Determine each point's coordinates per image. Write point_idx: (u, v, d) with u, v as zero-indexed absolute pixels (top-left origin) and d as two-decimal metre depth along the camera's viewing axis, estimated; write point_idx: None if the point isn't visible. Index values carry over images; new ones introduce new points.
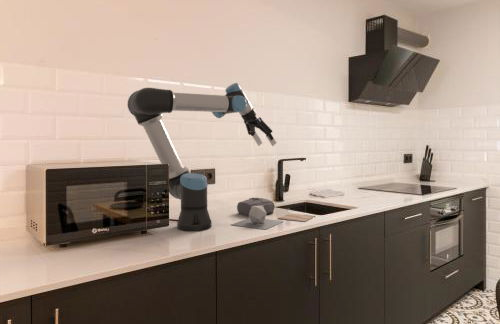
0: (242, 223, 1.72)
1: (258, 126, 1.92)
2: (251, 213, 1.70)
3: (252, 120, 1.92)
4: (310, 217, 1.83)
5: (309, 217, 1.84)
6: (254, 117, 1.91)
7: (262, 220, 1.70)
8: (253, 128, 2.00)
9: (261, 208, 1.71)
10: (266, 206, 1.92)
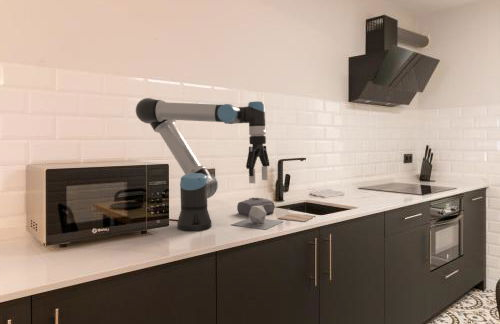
0: (242, 223, 1.72)
1: None
2: (251, 213, 1.70)
3: None
4: (310, 217, 1.83)
5: (309, 217, 1.84)
6: (254, 144, 1.69)
7: (262, 220, 1.70)
8: (262, 158, 1.76)
9: (261, 208, 1.71)
10: (266, 206, 1.92)
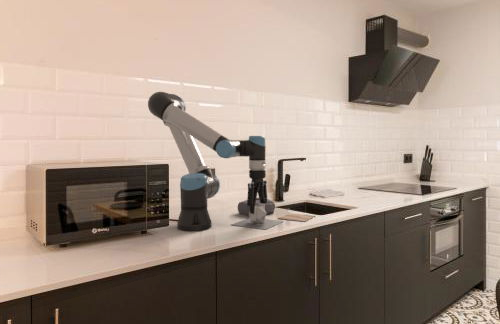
0: (242, 223, 1.72)
1: None
2: None
3: None
4: (310, 217, 1.83)
5: (309, 217, 1.84)
6: (253, 178, 1.69)
7: (262, 220, 1.70)
8: (260, 193, 1.74)
9: (261, 208, 1.71)
10: (267, 206, 1.92)
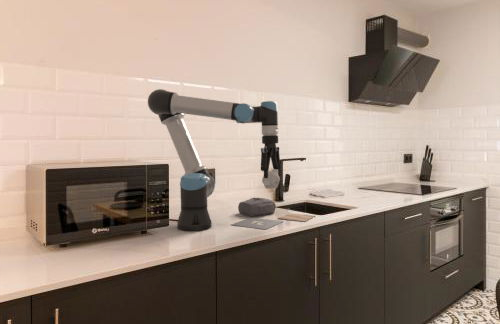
0: (242, 223, 1.72)
1: None
2: None
3: None
4: (310, 217, 1.83)
5: (309, 217, 1.84)
6: (266, 143, 1.71)
7: (276, 185, 1.73)
8: (273, 159, 1.77)
9: (274, 173, 1.73)
10: (267, 206, 1.92)
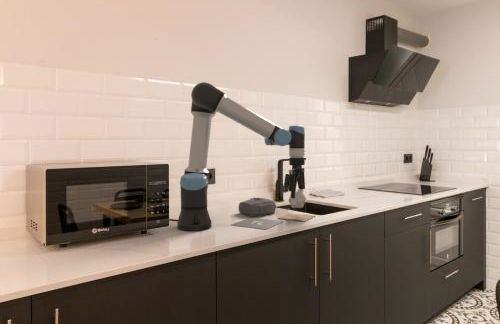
0: (242, 223, 1.72)
1: None
2: None
3: None
4: (310, 217, 1.83)
5: (309, 217, 1.84)
6: (293, 165, 1.80)
7: (302, 204, 1.82)
8: (299, 179, 1.86)
9: (301, 193, 1.82)
10: (268, 206, 1.92)
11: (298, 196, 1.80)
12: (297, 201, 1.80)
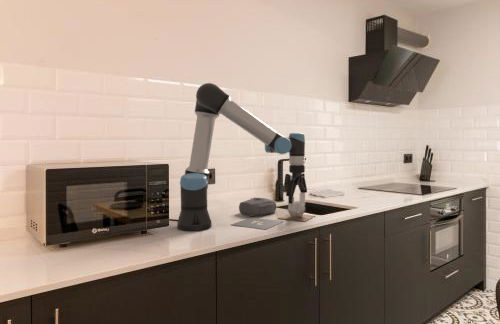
0: (242, 223, 1.72)
1: None
2: None
3: None
4: (310, 217, 1.83)
5: (309, 217, 1.84)
6: (293, 173, 1.80)
7: (301, 214, 1.82)
8: (300, 185, 1.87)
9: (300, 203, 1.83)
10: (268, 206, 1.92)
11: (297, 206, 1.81)
12: (296, 211, 1.80)
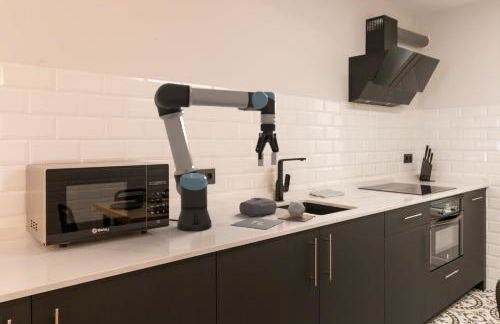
0: (242, 223, 1.72)
1: None
2: (291, 208, 1.82)
3: None
4: (310, 217, 1.83)
5: (309, 217, 1.84)
6: (264, 131, 1.85)
7: (301, 214, 1.82)
8: (271, 144, 1.92)
9: (300, 203, 1.83)
10: (268, 206, 1.92)
11: (297, 206, 1.81)
12: (296, 211, 1.80)
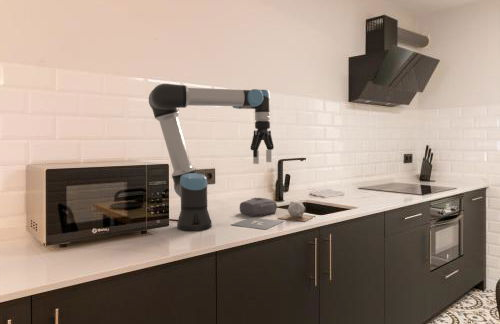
0: (242, 223, 1.72)
1: None
2: (291, 208, 1.82)
3: None
4: (310, 217, 1.83)
5: (309, 217, 1.84)
6: (258, 128, 1.86)
7: (301, 214, 1.82)
8: (266, 142, 1.93)
9: (300, 203, 1.83)
10: (269, 206, 1.92)
11: (297, 206, 1.81)
12: (296, 211, 1.80)
